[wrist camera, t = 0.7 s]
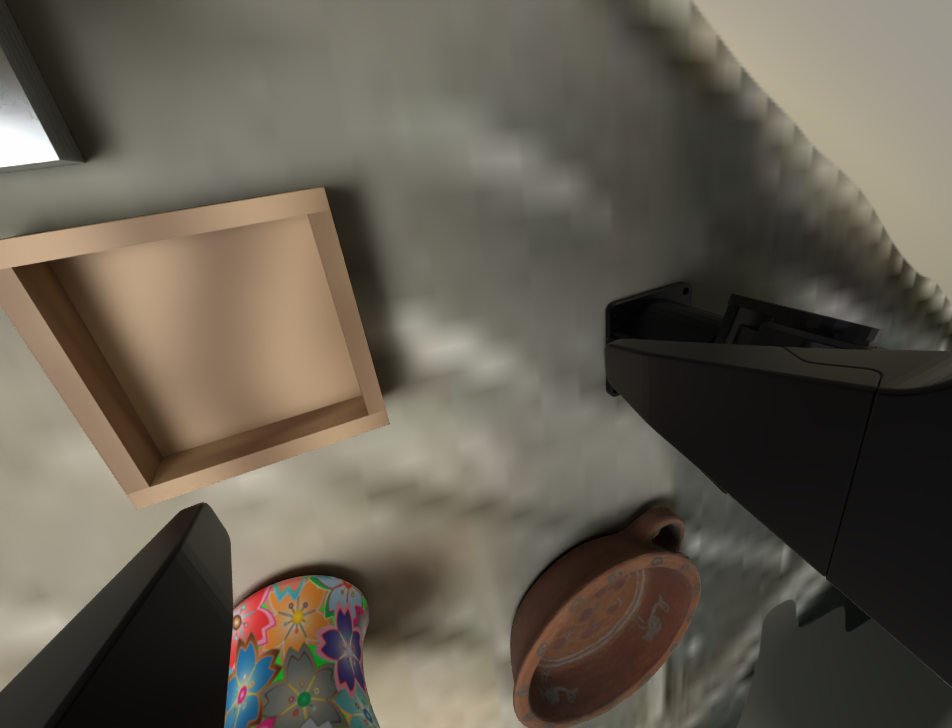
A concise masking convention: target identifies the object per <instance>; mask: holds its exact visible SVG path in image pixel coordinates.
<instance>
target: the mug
mask: <svg viewBox="0 0 952 728" xmlns="http://www.w3.org/2000/svg"><path fill="white" fill-rule="evenodd" d="M368 624H369V606H368V603H367V601H366V599H365V597H364V595H363V594H362V593H361V591H360V590H359V589H358V588H356V587H355V586H354V585H352V584H350V583H349V582H347V581H344V580H342V579H339V578H335V577H331V576H323V575H309V576H301V577H295V578H291V579H287V580H283V581H280V582H277V583H275V584H272V585H270V586H268V587H265V588H263V589H261V590H260V591H258V592H256V593H254V594H253V595H251V596H250V597H248V598H247V599H246V600H244V601H243V602H242V603H240V604H239V605H238V606H237V607H236V608H235V609H234V610H233V631H232V643H231V655H230V667H229V678H228V690H227V702H226V714H225V725H224V728H380V726H379V724H378V721H377V719H376V717H375V714H374V712H373V709H372V706H371V703H370V699H369V696H368V692H367V688H366V684H365V678H364V671H363V643H364V637H365V634H366V631H367V628H368Z"/></svg>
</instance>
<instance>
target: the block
mask: <svg viewBox="0 0 952 728" xmlns="http://www.w3.org/2000/svg"><path fill="white" fill-rule="evenodd" d="M79 163H85V161H84V159H83V157H82V155H81V153H80V151H79V149H78V147H77V145H76V143H75V141H74V139H73V137H72V135H71V133H70V131H69V129H68V127H67V125H66V123H65V121H64V119H63V117H62V115H61V113H60V111H59V109H58V107H57V105H56V103H55V101H54V99H53V97H52V95H51V93H50V91H49V89H48V87H47V85H46V83H45V81H44V79H43V77H42V75H41V73H40V71H39V69H38V67H37V65H36V63H35V61H34V59H33V57H32V55H31V53H30V50H29V48H28V46H27V44H26V42H25V40H24V38H23V36H22V34H21V32H20V30H19V28H18V26H17V24H16V22H15V20H14V18H13V16H12V14H11V12H10V10H9V8H8V6H7V4H6V2H5V0H0V174H1V173H9V172H16V171H24V170H32V169H40V168H48V167H56V166H64V165H72V164H79Z"/></svg>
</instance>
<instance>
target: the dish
mask: <svg viewBox="0 0 952 728" xmlns="http://www.w3.org/2000/svg"><path fill="white" fill-rule="evenodd" d="M661 528H662V529H661ZM660 529H661V530H660ZM658 530H660V532H659V534H658V535H657V536H656V537H655V538H654V539H652V537H653V535H654V534H655V533H656V532H657V531H658ZM683 535H684V523H683V521H682V519H681V518H680V517H679V516H677V515H676V514H674V513H673V512H671V511H670V510H669V509H668V508H665V507H658V508H653V509H650V510H648V511H646V512H645V513H643V514H642V515H641V516H639V517H638V518H637V519H636V520H635V521H634V522H633V523H631V524H630V525H629V526H628V527H627V528H625V529H624V530H622V531H621V532H619V533H617V534H613V535H608V536H604V537H600V538H597V539H594V540H591V541H589V542H586V543H584V544H582V545H580V546H578V547H576V548H575V549H573V550H571V551H570V552H568V553H567V554H565V555H564V556H563V557H561V558H560V559H559V560H558V561H556V562H555V563H554V564H553V565H552V566H551V567H550V568H549V569H548V570H547V571H546V572H545V573H544V574H543V575H542V576H541V577H540V578H539V579H538V580H537V581H536V582H535V584H534V585H533V586H532V587H531V589H530V590H529V591H528V593H527V594H526V596H525V598H524V599H523V601H522V603H521V605H520V607H519V609H518V611H517V613H516V616H515V619H514V622H513V625H512V630H511V640H510V650H511V664H512V671H513V678H514V691H513V705H514V710H515V713H516V716H517V718H518V719H519V721H520V722H521V723H522V724H523V725H524V726H526V727H528V728H568V727H571V726H574V725H577V724H579V723H582V722H585V721H588V720H590V719H593V718H595V717H597V716H599V715H601V714H603V713H605V712H607V711H609V710H611V709H612V708H613V707H615V706H616V705H617V704H619V703H620V702H622V701H623V700H625V699H626V698H628V697H629V696H631V695H632V694H633V693H634V692H636V691H637V690H638V689H639V688H640V687H642V686H643V685H644V684H645V683H646V682H647V681H648V680H649V679H650V678H651V677H652V676H653V675H654V674H655V673H656V672H657V671H658V669H659V668H660V667H661V666H662V665H663V664H664V662H665V661H666V660H667V659H668V657H669V656H670V655H671V653H672V652H673V651H674V649H675V648H676V646H677V645H678V643H679V642H680V640H681V639H682V637H683V635H684V633H685V632H686V630H687V628H688V626H689V625H690V623H691V621H692V618H693V616H694V614H695V611H696V608H697V604H698V601H699V598H700V593H701V579H700V576H699V572H698V570H697V569H696V567H695V565H694V564H693V563H692V562H691V560H690V559H689V557H687V556H685V555H683V554H682V553H681V552H679V548H680V545H681V542H682V539H683Z"/></svg>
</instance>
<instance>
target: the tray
mask: <svg viewBox="0 0 952 728" xmlns="http://www.w3.org/2000/svg"><path fill="white" fill-rule="evenodd" d="M0 306H1V308H2V309H3V311H4V312H5V314H6V315H7V317H8V318H9V320H10V321H11V323H12V324H13V326H14V327H15V329H16V330H17V332H18V333H19V335H20V336H21V338H22V339H23V341H24V342H25V343H26V345H27V346H28V348H29V349H30V351H31V352H32V354H33V355H34V357H35V358H36V360H37V361H38V363H39V364H40V366H41V367H42V369H43V370H44V372H45V373H46V375H47V376H48V378H49V379H50V381H51V382H52V384H53V385H54V387H55V388H56V390H57V391H58V393H59V394H60V396H61V397H62V399H63V400H64V402H65V403H66V405H67V406H68V408H69V409H70V411H71V412H72V414H73V415H74V417H75V418H76V420H77V421H78V423H79V424H80V426H81V427H82V429H83V430H84V432H85V433H86V435H87V436H88V438H89V439H90V441H91V442H92V444H93V445H94V447H95V448H96V450H97V451H98V453H99V454H100V456H101V457H102V459H103V460H104V462H105V463H106V465H107V466H108V468H109V469H110V471H111V472H112V474H113V475H114V477H115V478H116V480H117V481H118V483H119V484H120V486H121V487H122V489H123V490H124V492H125V493H126V495H127V496H128V498H129V499H130V501H131V502H132V504H133V505H134V507H135V508H136V510H137V509H140V508H143V507H146V506H149V505H152V504H155V503H158V502H161V501H164V500H167V499H170V498H173V497H176V496H179V495H182V494H185V493H188V492H191V491H193V490H196V489H199V488H202V487H205V486H208V485H211V484H214V483H217V482H220V481H223V480H226V479H229V478H232V477H235V476H238V475H241V474H244V473H247V472H250V471H253V470H255V469H258V468H261V467H264V466H267V465H270V464H273V463H276V462H279V461H282V460H285V459H288V458H291V457H294V456H297V455H300V454H303V453H306V452H309V451H312V450H315V449H317V448H320V447H323V446H326V445H329V444H332V443H335V442H338V441H341V440H344V439H347V438H350V437H353V436H356V435H359V434H362V433H365V432H368V431H371V430H374V429H376V428H379V427H382V426H385V425H388V424H390V423H389V419H388V415H387V412H386V408H385V405H384V401H383V398H382V394H381V390H380V387H379V383H378V380H377V376H376V372H375V369H374V365H373V362H372V358H371V354H370V351H369V347H368V344H367V340H366V336H365V333H364V329H363V326H362V322H361V318H360V315H359V311H358V308H357V304H356V301H355V297H354V293H353V290H352V286H351V283H350V279H349V275H348V272H347V268H346V265H345V261H344V257H343V254H342V250H341V247H340V243H339V239H338V236H337V232H336V229H335V225H334V221H333V218H332V214H331V211H330V207H329V204H328V200H327V196H326V193H325V189H324V187H315V188H309V189H303V190H297V191H291V192H285V193H279V194H272V195H266V196H260V197H254V198H248V199H242V200H236V201H229V202H223V203H217V204H211V205H205V206H199V207H193V208H187V209H180V210H174V211H168V212H162V213H156V214H150V215H144V216H137V217H131V218H125V219H119V220H113V221H107V222H101V223H95V224H88V225H82V226H76V227H70V228H64V229H58V230H52V231H46V232H39V233H33V234H27V235H21V236H15V237H9V238H4V239H0Z"/></svg>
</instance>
